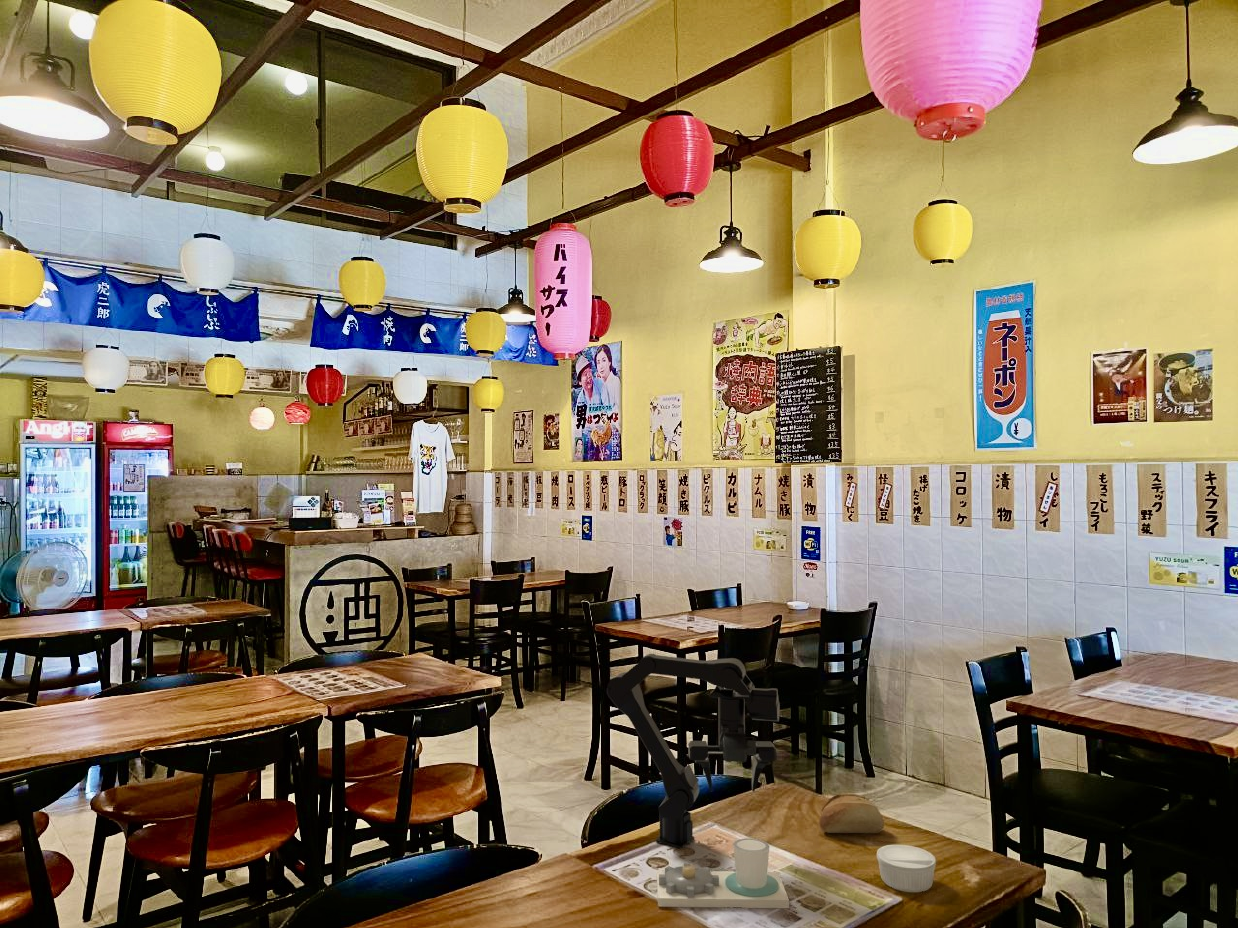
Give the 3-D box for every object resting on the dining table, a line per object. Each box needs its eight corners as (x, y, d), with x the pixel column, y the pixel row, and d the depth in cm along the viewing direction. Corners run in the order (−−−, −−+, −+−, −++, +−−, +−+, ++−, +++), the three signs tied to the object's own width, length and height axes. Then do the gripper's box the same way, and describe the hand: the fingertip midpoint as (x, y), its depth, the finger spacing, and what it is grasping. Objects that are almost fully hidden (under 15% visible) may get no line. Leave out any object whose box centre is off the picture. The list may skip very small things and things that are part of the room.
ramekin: (907, 900, 156) (907, 871, 156) (864, 877, 166) (864, 850, 166) (949, 888, 161) (949, 860, 162) (905, 866, 171) (904, 840, 172)
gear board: (658, 906, 153) (658, 881, 153) (656, 878, 165) (656, 854, 165) (789, 908, 153) (788, 882, 153) (778, 879, 165) (777, 856, 165)
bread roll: (811, 825, 194) (811, 790, 194) (872, 822, 196) (872, 787, 196) (827, 841, 184) (827, 804, 185) (891, 838, 186) (890, 801, 187)
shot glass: (768, 891, 155) (768, 853, 155) (731, 887, 156) (731, 849, 157) (770, 876, 162) (770, 839, 162) (734, 872, 163) (734, 836, 164)
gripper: (691, 726, 175) (691, 803, 174) (780, 727, 174) (781, 803, 173) (688, 714, 186) (688, 785, 185) (772, 714, 185) (772, 786, 184)
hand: (732, 790), depth 181 cm, fingers open, 9 cm apart
